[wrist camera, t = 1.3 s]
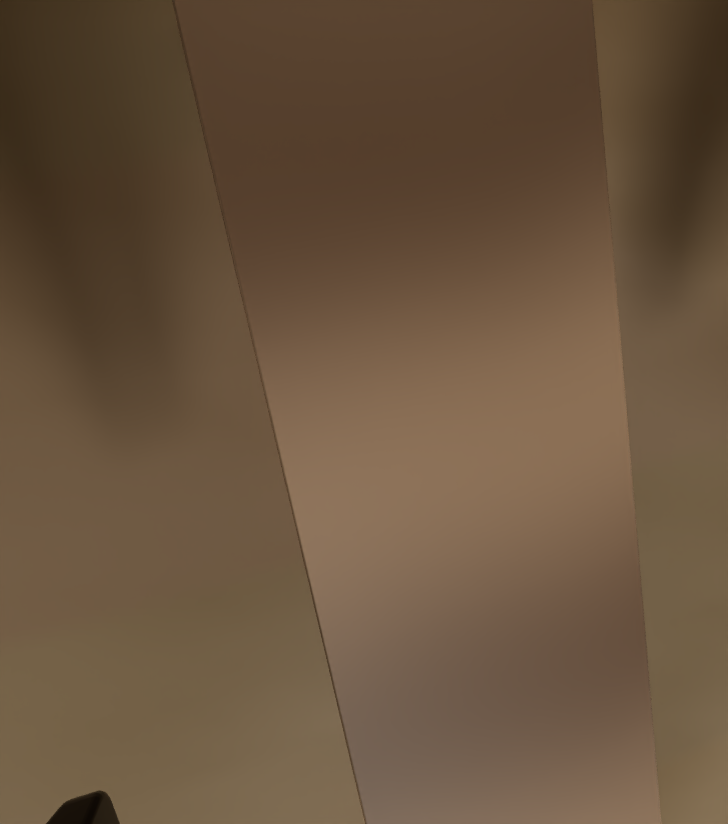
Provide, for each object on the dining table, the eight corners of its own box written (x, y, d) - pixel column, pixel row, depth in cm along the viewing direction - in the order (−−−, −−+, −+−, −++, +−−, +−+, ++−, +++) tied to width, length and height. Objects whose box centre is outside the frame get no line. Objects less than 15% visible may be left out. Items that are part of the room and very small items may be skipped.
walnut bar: (535, 876, 14) (691, 1184, 9) (390, 930, 13) (475, 1289, 9) (401, 2, 10) (568, -276, 5) (179, 30, 9) (116, -252, 4)
